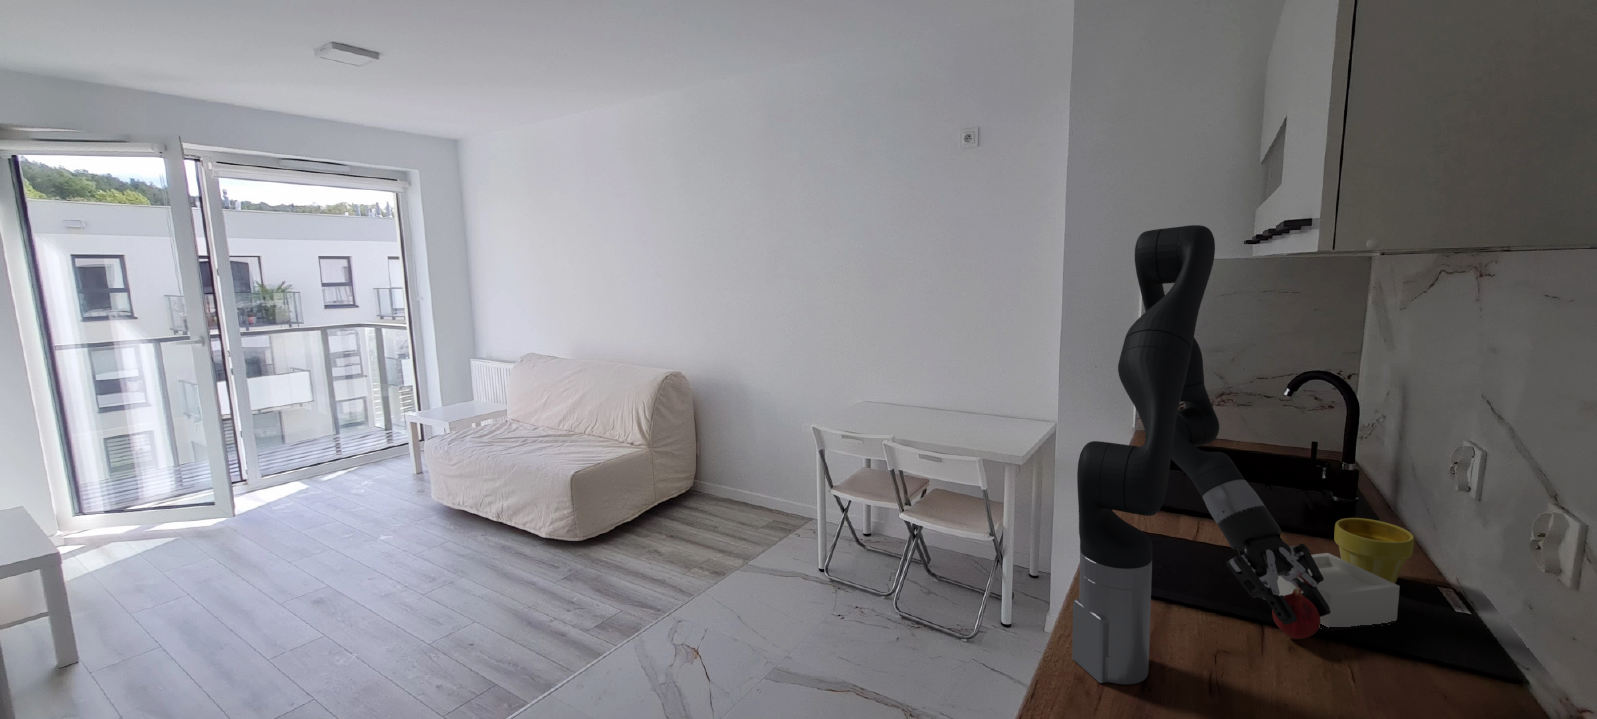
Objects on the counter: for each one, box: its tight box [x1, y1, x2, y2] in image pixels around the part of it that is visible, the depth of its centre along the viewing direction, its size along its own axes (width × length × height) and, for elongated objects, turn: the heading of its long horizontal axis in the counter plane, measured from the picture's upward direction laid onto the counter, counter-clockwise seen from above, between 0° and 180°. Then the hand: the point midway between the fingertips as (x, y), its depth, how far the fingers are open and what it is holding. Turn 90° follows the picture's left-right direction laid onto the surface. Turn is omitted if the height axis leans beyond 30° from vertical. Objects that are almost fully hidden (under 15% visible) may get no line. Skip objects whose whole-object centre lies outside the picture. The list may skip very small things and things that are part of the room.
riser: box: [1268, 552, 1401, 628], centre depth 106 cm, size 12×12×6 cm
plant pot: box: [1333, 517, 1415, 584], centre depth 113 cm, size 10×10×10 cm
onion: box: [1271, 588, 1320, 640], centre depth 98 cm, size 6×6×8 cm
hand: (1307, 618), depth 96 cm, fingers closed on onion, 5 cm apart
